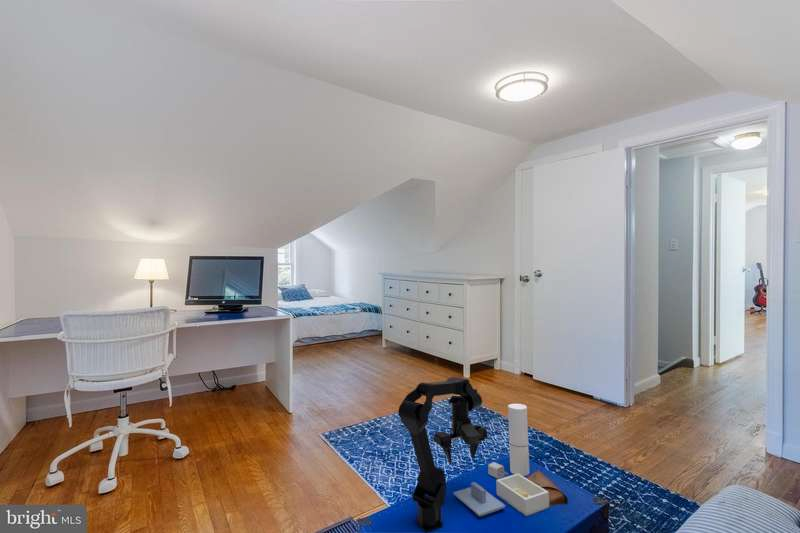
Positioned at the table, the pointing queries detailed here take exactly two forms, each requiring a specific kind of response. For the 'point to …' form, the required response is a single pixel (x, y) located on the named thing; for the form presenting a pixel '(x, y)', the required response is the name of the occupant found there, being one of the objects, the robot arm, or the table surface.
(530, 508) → the tub
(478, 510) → the lid
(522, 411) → the cylindrical container
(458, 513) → the table surface
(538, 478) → the sunglasses case
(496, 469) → the usb wall charger
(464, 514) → the table surface
